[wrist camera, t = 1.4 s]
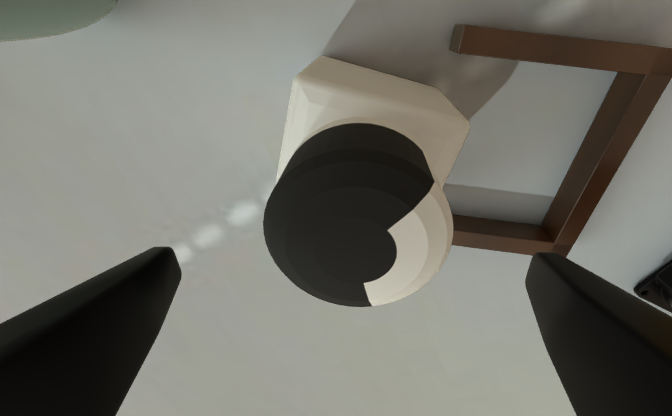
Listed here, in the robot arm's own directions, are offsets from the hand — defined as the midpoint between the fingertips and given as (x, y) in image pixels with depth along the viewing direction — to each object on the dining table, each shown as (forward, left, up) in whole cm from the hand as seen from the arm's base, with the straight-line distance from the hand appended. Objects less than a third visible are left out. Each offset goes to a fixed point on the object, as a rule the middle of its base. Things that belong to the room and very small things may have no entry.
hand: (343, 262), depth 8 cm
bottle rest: (-9, -2, -13) cm, 16 cm away
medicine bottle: (-1, +1, -14) cm, 14 cm away
